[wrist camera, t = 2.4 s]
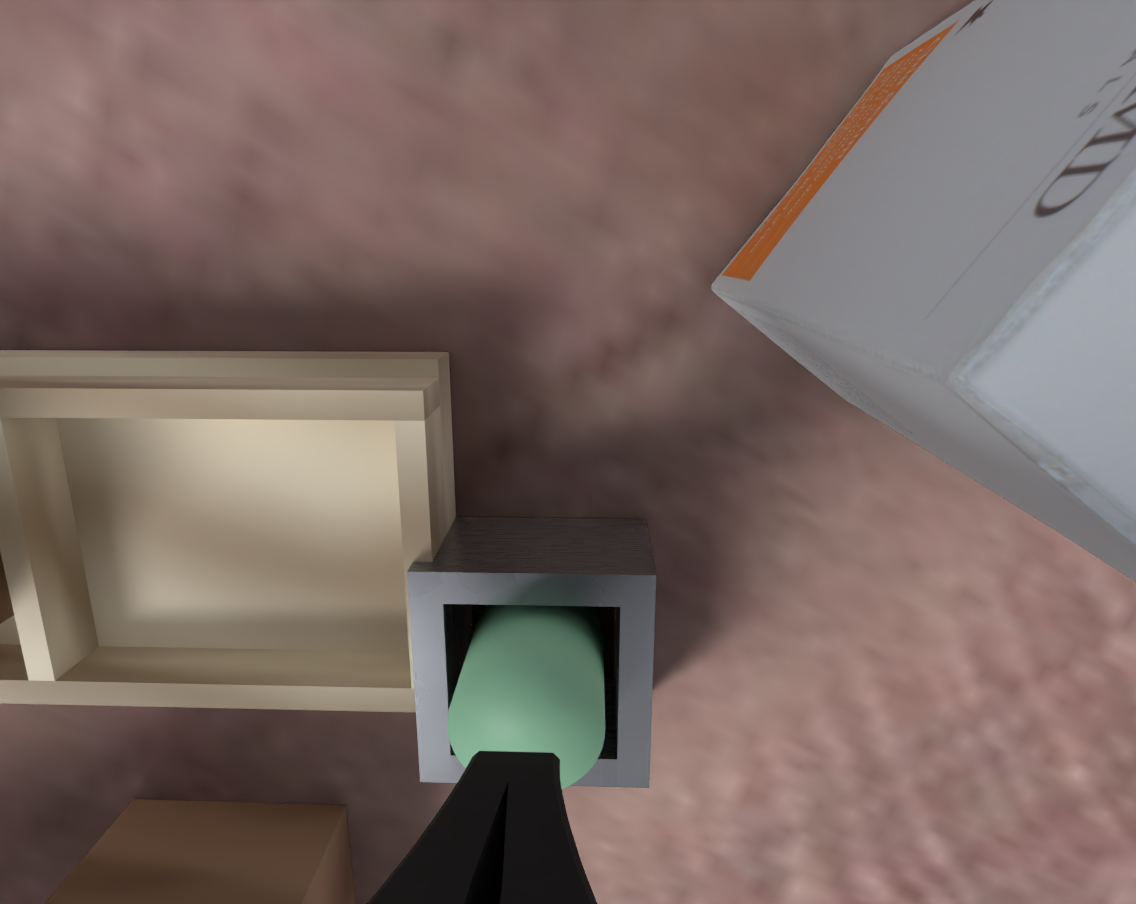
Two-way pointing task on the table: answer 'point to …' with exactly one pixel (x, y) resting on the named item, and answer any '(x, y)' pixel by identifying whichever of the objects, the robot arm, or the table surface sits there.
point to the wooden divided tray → (219, 525)
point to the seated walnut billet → (4, 596)
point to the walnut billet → (217, 856)
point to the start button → (532, 687)
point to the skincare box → (979, 259)
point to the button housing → (547, 578)
